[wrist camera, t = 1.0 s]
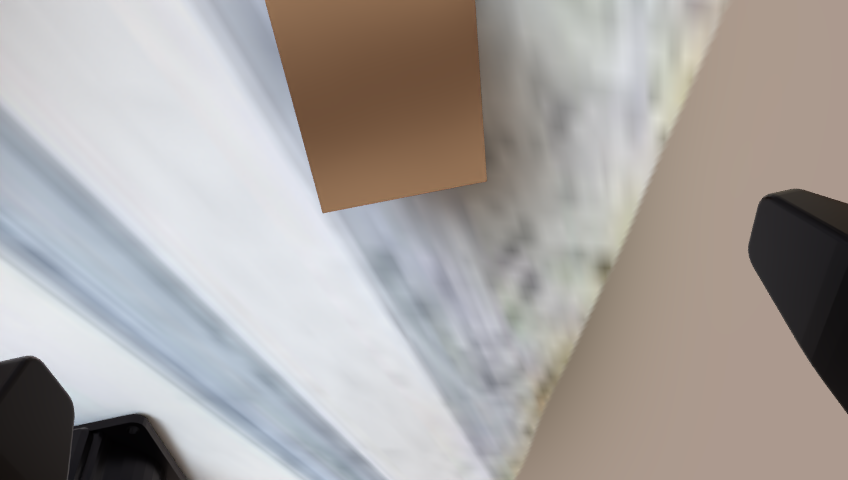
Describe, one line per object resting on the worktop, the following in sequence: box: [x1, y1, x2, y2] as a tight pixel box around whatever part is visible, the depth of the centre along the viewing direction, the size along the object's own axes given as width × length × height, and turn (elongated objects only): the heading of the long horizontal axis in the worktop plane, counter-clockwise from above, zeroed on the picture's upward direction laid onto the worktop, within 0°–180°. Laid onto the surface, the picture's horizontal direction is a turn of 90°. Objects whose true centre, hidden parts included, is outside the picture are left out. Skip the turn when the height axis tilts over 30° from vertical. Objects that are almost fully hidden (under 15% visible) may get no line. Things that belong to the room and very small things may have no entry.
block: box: [265, 0, 487, 213], centre depth 15 cm, size 5×4×6 cm
